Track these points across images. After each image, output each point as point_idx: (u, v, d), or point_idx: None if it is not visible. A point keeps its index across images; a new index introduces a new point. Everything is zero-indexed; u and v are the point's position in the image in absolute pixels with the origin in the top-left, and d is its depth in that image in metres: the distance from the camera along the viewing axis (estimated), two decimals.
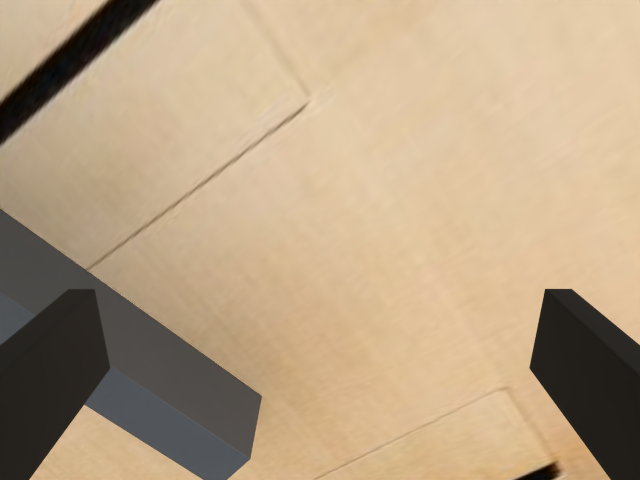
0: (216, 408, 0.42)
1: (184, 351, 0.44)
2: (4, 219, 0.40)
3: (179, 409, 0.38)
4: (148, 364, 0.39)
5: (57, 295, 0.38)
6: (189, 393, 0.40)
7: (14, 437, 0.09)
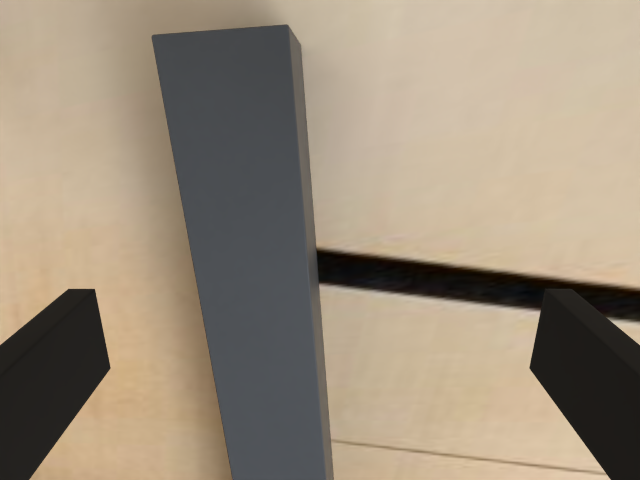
0: None
1: None
2: None
3: None
4: None
5: None
6: None
7: (14, 437, 0.09)
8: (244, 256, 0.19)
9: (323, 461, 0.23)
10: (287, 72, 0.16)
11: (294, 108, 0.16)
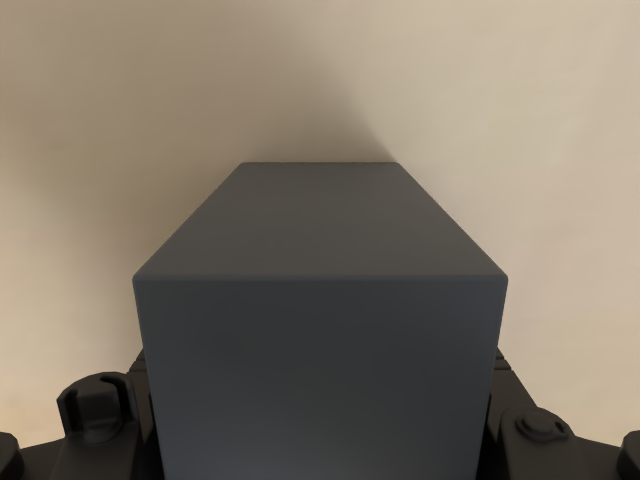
0: None
1: None
2: None
3: None
4: None
5: None
6: None
7: None
8: None
9: None
10: (482, 378, 0.06)
11: (479, 446, 0.07)
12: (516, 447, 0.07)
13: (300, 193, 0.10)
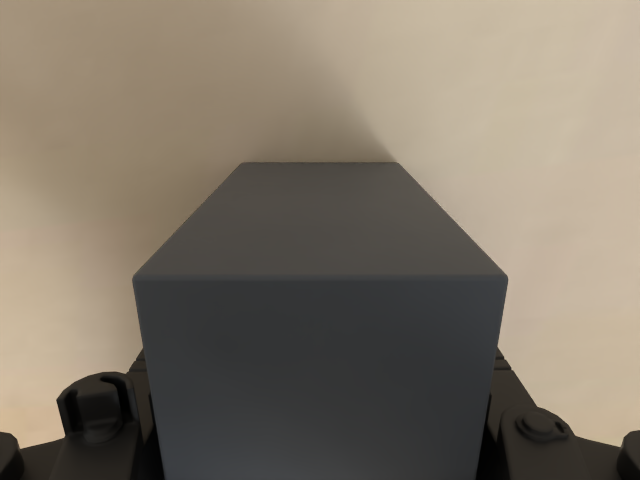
0: None
1: None
2: None
3: None
4: None
5: None
6: None
7: None
8: None
9: None
10: (481, 378, 0.06)
11: (479, 446, 0.07)
12: (516, 446, 0.07)
13: (300, 193, 0.10)
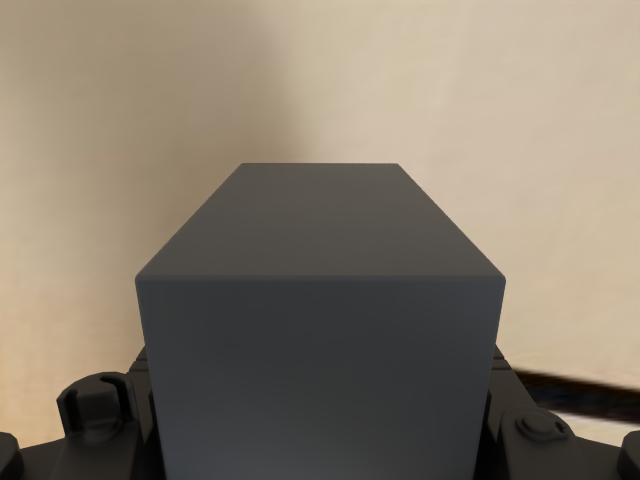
0: None
1: None
2: None
3: None
4: None
5: None
6: None
7: None
8: None
9: None
10: (480, 378, 0.06)
11: (477, 444, 0.07)
12: (516, 447, 0.07)
13: (300, 193, 0.10)
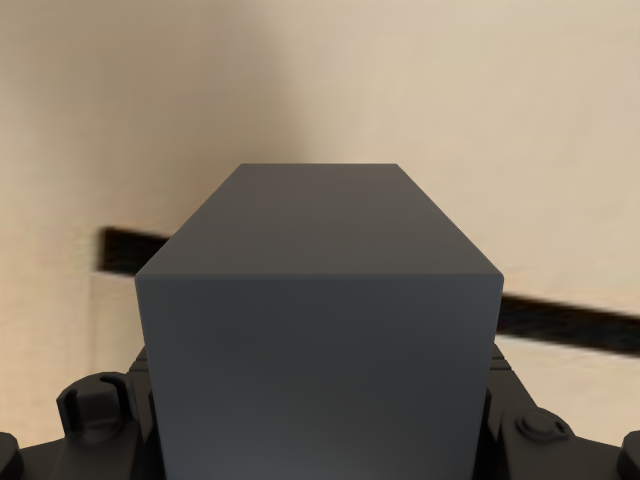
0: None
1: None
2: None
3: None
4: None
5: None
6: None
7: None
8: None
9: None
10: (478, 376, 0.06)
11: (476, 443, 0.07)
12: (516, 447, 0.07)
13: (299, 194, 0.10)
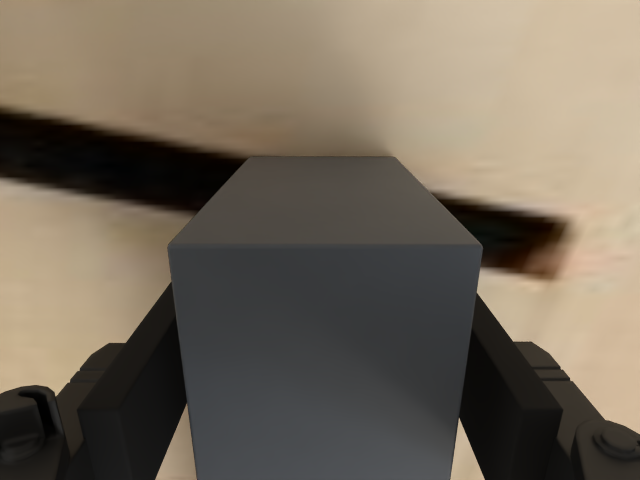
0: None
1: None
2: None
3: None
4: None
5: None
6: None
7: (171, 385, 0.11)
8: None
9: None
10: (461, 334, 0.07)
11: (460, 395, 0.08)
12: (594, 462, 0.07)
13: (305, 182, 0.11)
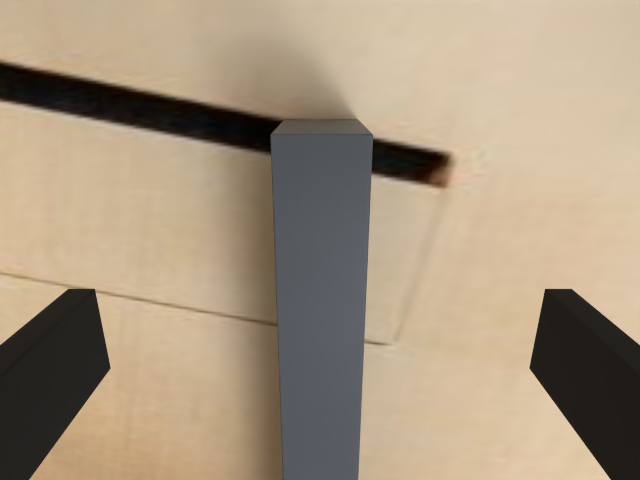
0: None
1: None
2: None
3: None
4: None
5: None
6: None
7: (14, 437, 0.09)
8: (317, 296, 0.24)
9: (357, 457, 0.28)
10: (368, 167, 0.22)
11: (369, 192, 0.22)
12: None
13: (313, 125, 0.25)
